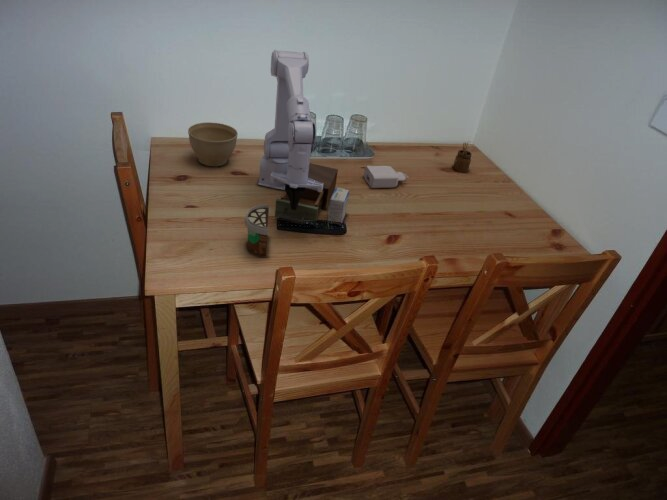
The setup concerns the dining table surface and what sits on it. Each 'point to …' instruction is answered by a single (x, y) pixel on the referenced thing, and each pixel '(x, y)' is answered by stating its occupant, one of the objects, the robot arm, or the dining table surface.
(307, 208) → the drawer
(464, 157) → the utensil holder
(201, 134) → the planter bowl
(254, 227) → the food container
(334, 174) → the cabinet
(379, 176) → the charger
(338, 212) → the medicine box
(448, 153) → the dining table surface
